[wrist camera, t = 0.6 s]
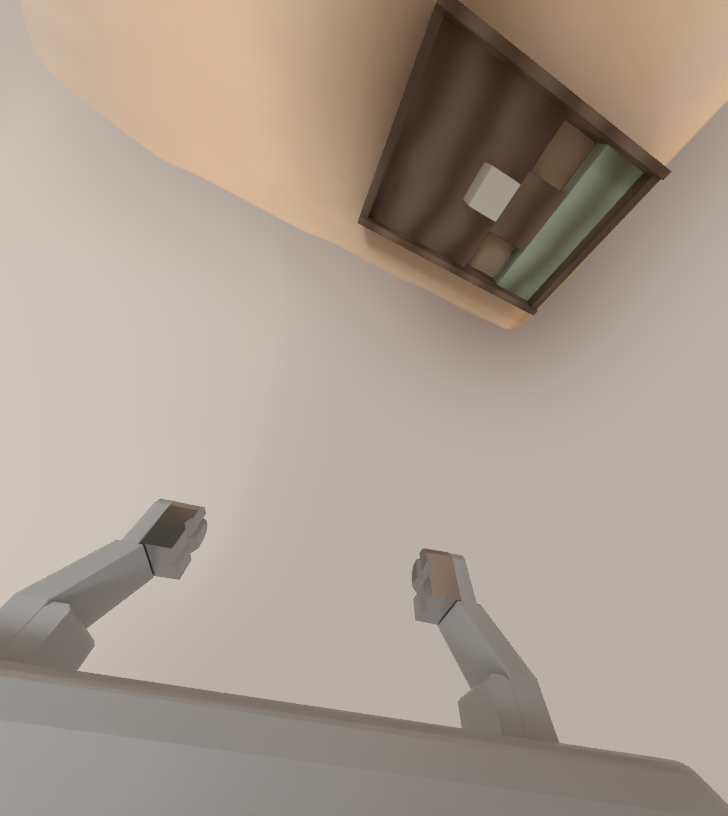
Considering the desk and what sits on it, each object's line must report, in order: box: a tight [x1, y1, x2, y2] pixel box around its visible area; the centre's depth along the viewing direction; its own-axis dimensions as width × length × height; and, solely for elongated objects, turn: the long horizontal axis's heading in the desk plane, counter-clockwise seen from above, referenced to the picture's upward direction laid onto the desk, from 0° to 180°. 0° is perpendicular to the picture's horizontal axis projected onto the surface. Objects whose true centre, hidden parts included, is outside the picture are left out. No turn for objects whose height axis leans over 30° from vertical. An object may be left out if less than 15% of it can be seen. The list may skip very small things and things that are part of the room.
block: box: [463, 162, 521, 222], centre depth 34 cm, size 4×4×4 cm
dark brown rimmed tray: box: [358, 0, 671, 315], centre depth 36 cm, size 30×19×5 cm, turn 67°
